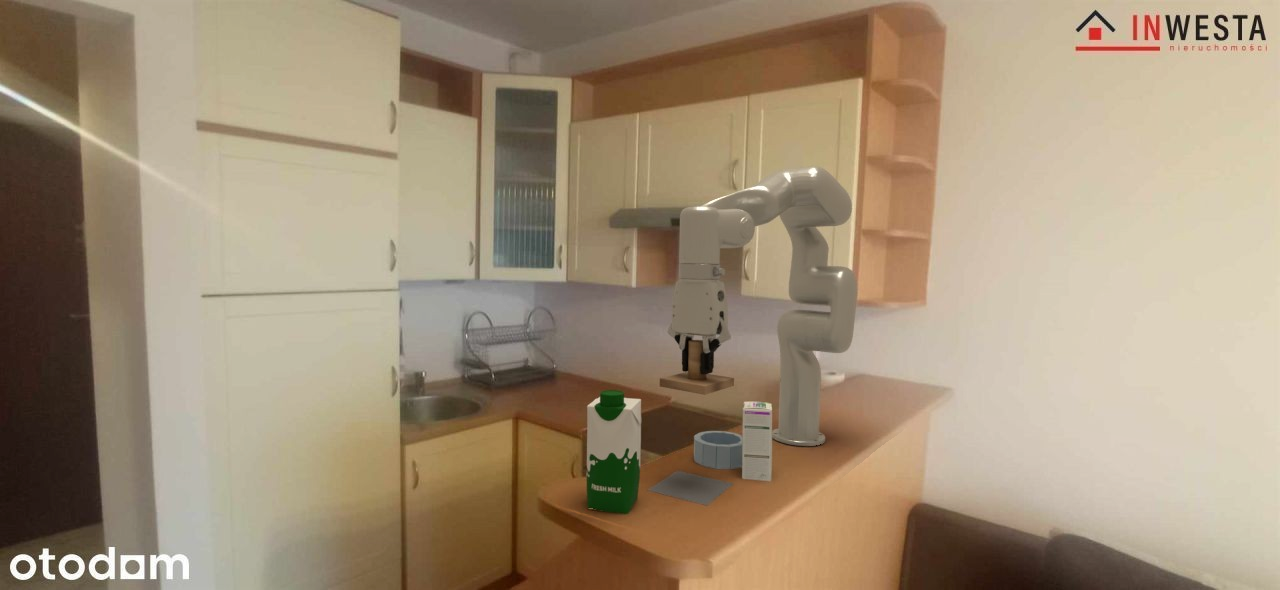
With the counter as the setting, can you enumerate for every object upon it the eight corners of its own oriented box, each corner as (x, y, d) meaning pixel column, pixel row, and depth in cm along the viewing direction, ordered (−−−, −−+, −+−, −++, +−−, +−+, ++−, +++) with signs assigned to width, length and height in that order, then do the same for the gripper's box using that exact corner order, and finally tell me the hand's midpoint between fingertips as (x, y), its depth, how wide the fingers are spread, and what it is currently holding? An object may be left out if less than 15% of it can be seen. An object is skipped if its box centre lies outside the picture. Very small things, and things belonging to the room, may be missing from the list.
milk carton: (580, 513, 93) (582, 393, 92) (596, 492, 101) (598, 383, 100) (631, 519, 91) (634, 397, 90) (643, 497, 99) (646, 386, 99)
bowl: (707, 449, 127) (707, 428, 126) (753, 459, 121) (754, 436, 121) (685, 463, 117) (685, 440, 117) (734, 474, 112) (735, 449, 111)
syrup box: (771, 483, 107) (774, 408, 107) (740, 480, 108) (742, 406, 108) (770, 473, 113) (773, 402, 112) (741, 470, 114) (743, 400, 113)
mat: (677, 472, 112) (677, 470, 112) (733, 485, 106) (733, 483, 106) (647, 492, 102) (647, 490, 102) (707, 507, 96) (707, 505, 96)
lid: (690, 378, 111) (690, 336, 111) (733, 385, 105) (734, 341, 105) (659, 386, 104) (660, 341, 103) (704, 394, 97) (705, 346, 97)
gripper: (748, 274, 101) (746, 375, 102) (675, 273, 112) (673, 364, 112) (727, 275, 95) (725, 381, 96) (651, 273, 106) (650, 369, 107)
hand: (697, 371), depth 104 cm, fingers closed on lid, 3 cm apart
